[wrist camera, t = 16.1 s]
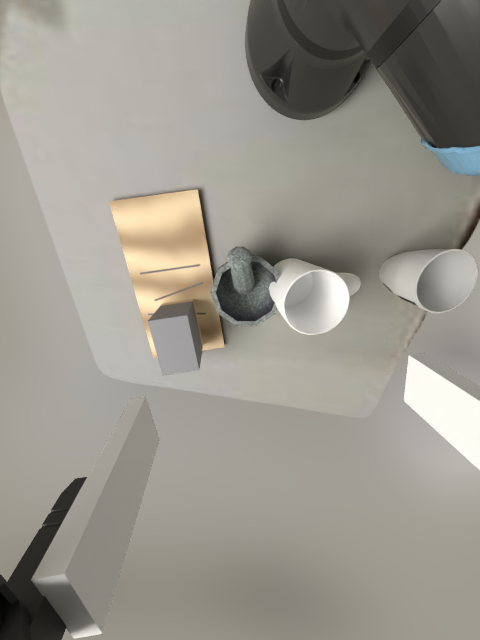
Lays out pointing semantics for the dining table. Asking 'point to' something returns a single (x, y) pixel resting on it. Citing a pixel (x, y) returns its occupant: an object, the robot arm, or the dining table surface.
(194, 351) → the block
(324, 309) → the mug
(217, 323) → the board
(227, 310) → the mortar and pestle
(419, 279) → the cup
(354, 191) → the dining table surface
